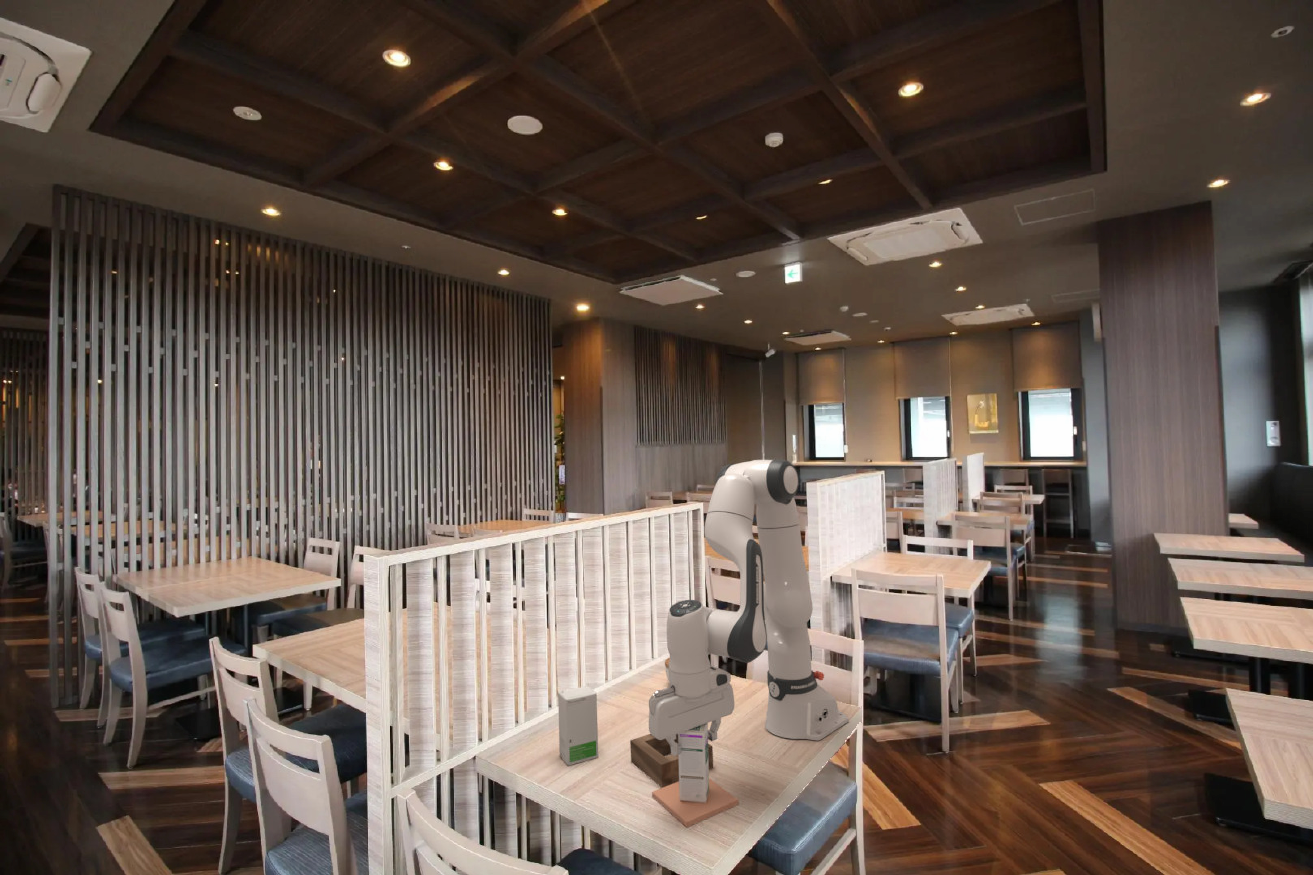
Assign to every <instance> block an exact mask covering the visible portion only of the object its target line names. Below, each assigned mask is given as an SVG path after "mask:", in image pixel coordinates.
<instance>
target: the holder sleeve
mask: <svg viewBox="0 0 1313 875" xmlns="http://www.w3.org/2000/svg"><path fill="white" fill-rule="evenodd" d="M674 741H675V743H678V734H676V739H675V740H674ZM629 743H630V744H629V746H630V762H631V763H632V764H633V765H635V766H636V767H637V768H638V769H639V770H641V771H642V773H644V774H645V775H646V776H647V777H649V778H650V779H651V780H652V781H653V780H654V781H653V782H654V783H656V784H657V785H658V784H659V785H658V786H659V787H660V788H663V787H666V786H668V785H671V784H673V783H676V782H678V781H679V760H678V755H676V756H674V755H673V754H672V753H671V746H670V744H669V743H668V741H667V740H666V739H663V740H658V739H657V738H655V737H654V736H652V735H651V734H650V733H648V734H646V735H642V736H640V737H636V738H634V739H630V742H629ZM708 755H709V771H710V770H712V769H714V752H713V745H711V744H710V743H708Z"/></svg>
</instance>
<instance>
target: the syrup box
mask: <svg viewBox="0 0 1313 875" xmlns="http://www.w3.org/2000/svg"><path fill="white" fill-rule="evenodd" d="M708 723H709V722H708ZM708 723H706V724H703V725H700V726H698V727H695V728H692V729H690V730H687V731H684V732H682V733H679V734H678V744H679V745H681V754H679V755H678V760H679V799H680V800H683V801H690V802H700V803H706V800H707V796H708V792H709V779H710V770H709V755H708V744H709V740H708V730H709V725H708Z"/></svg>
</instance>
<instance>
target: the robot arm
mask: <svg viewBox="0 0 1313 875" xmlns="http://www.w3.org/2000/svg"><path fill="white" fill-rule="evenodd" d="M798 474H799V473H798V471H797V469H796V467H795V466H794V464H793V463H792V462H791V461H790V460H785V459H779V458H775V459H754V460H751V461H744V462H739V463H730V464H726V465H724V466H722V467H721V468H720V469H719V470H718V472H717V475H716V477H715V485H714V488H713V490H712V494H711V497H710V501H709V503H708V508H707V512H706V518H705V522H704V538H705V541H706V542H707V544H708V546H709V547H710V548H711V550H713V551H714V552H715V553H717V554H718V555H720V556H722V557H724V558H725V559H727V560H729V561H731V562H733V564H735V565H736V566H737V569H738V571H739V575H740V577H739V583H740V585H739V586H740V587H739V588H740V589H739V590H740V592H739V596H740V598H739V604H740V605H739V609H738V610H737V611H732V610H724V609H719V608H711V607H707V606H704V605H703V604H702V602H701V601H699V600H696V599H685V600H681V601H677V602H676V603H674V604H672V605H670V607H669V609H668V612H667V617H666V618H667V619H666V648H667V650H668V654H669V658H670V661H669V680H670V682H669V687H665V688H663V689H661V690H660V689H659V690H655V692H653V694H652V695H651V696H650V698H649V699H648V709H649V711H648V732H649V734H651V735H652V736H654V737H655V738H657V739H658V740H663V739H666V740H667V741H668V743H669V744H670V746H671V754H673V755H674V756H676V755H679V754H681V745H679V744H678V743H675V741H674V740H675V739H676V734H679V733H682V732H684V731H687V730H690V729H692V728H695V727H698V726H700V725H703V724H706V723H711V724H710V727H709V729H708V741H710V742H713V741H716V740H718V732H719V728H720V726H721V724H722V718H724V717H727V716H729V715H732V714H733V712H734V710H735V697H734V696H735V695H734V689H733V686H732V684H731V680H732V679H731V678H732V675H731V673H729V672H728V671H726V670H725V669H722V668H719V667H717V666H713V665H711V662H710V659H709V655H714V656H719V657H725V658H730V659H732V660H734V661H739V662H742V663H744V664H747V663H748V664H749V663H751V662H753V661H754V660H756V659H757V658H759V657H760V656H761V655H762V654H763V653H764V651H765V650H766V646H767V660H768V661H767V663H768V665H767V666H768V670H767V671H766V672H767V674H766V675H767V676H766V678H767V681H766V682H767V687H768V699H767V700H768V701H767V710H766V718H765V722H764V727H765V729H766V730H767V731H768V732H769V733H771V734H772V735H775V736H778V737H780V738H786V739H791V740H810V741H821V740H822V739H824V738H825V737H827V736H828V735H830V734H831V733H834V732H835V731H836V730H838V729H839V728H841V727H842V726H844V725H845V724H847V723H849V719H848V716H847V715H846V714H845V713H844V712H843V711H841V710H839V708H838V702H837V700H836V697H835V696H834V695H833V694H832V693H831V692H829V691H827V690H826V689H825V688H823V687H822V686H821V685H819V684H818V681H823V680H824V678H825V674H824V672H820V671H818V670H815V671H814V670H812V654H811V641H810V634H809V630H808V622H809V620H810V619H811V617H812V614H813V609H814V607H813V600H812V593H811V588H810V583H809V577H808V571H807V567H806V563H805V558H804V553H803V545H802V544H803V543H802V537H801V536H802V535H801V527H800V526H801V525H800V519H799V512H798V508H797V504H796V500H795V496H796V494H797V491H798V490H799V485H800V484H799V483H800V480H799V475H798ZM755 506H756V508H755ZM755 509H756V513H755ZM755 514H756V516H755ZM754 516H755V517H756V528H757V536H758V538H757V539H758V542H757V541H755V539H754V534H753V523H754V518H755V517H754ZM669 680H668V681H669ZM817 680H818V681H817Z"/></svg>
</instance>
